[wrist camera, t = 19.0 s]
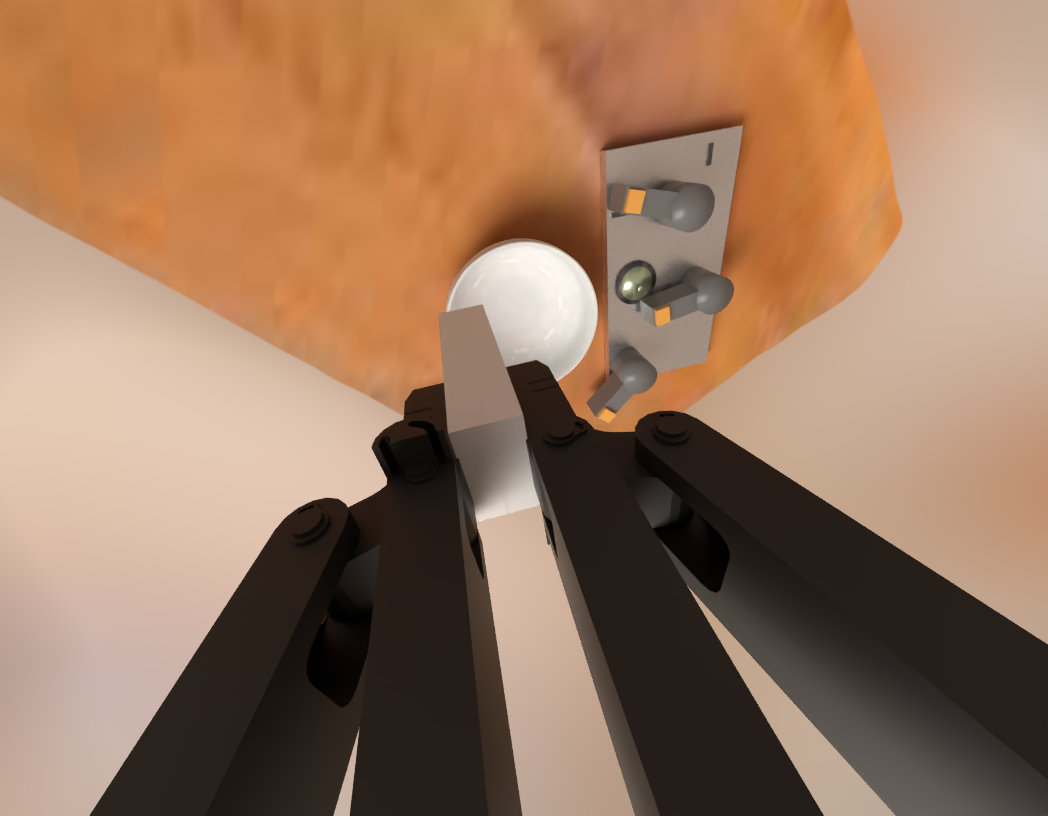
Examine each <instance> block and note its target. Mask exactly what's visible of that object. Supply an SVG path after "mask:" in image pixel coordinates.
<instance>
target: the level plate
mask: <svg viewBox="0 0 1048 816" xmlns="http://www.w3.org/2000/svg"><path fill="white" fill-rule="evenodd" d="M742 131H743V125H741V126H731V127H726V128H720V129H715V130H710V131H704V132H699V133H693V134H688V135H683V136H677V137H672V138H666V139H661V140H656V141H650V142H645V143H640V144H634V145H629V146H623V147H618V148H613V149H607V150H602V151H600V179H601V224H602V269H603V314H604V359H605V380H607V378H608V377H609V376H610V375H611V374H612V373H613V371H612V362H613V360H614V358H615V357H616V356H617V355H618V354H619V353H620V352H622V351H624V350H627V349H634V350H637V351H638V352H639V353H640V354H641V355H642V356H643V357H644V358H646V359H647V360H648V361H649V362H650V363H651V364H652V365H653V366H654V367H655V368H656V370H657V373H661V372H665V371H669V370H673V369H677V368H682V367H686V366H690V365H694V364H698V363H702V362H706V361H707V355H708V348H709V342H710V336H711V329H712V323H713V316H714V314H713V315H707V314H704V313H703V312H701V311H699V310H698V311H695V312H693V313H690V314H688V315H685V316H682V317H680V318H677V319H674V320H672V321H670V322H669V323H666V324H663V325H661V326H656V327H654V326H652V325H651V324H650V323H649V322H647V321H646V320H645V319H643V318H642V317H641V309H640V299H642V298H645V297H648V296H650V295H653V294H655V293H658V292H661V291H663V290H666V289H669V288H671V287H674V286H676V285H679V284H680V282H681V280H682V279H683V277H684V276H685V275H686V274H687V273H688V272H689V271H691V270H693V269H696V268H704V269H707V270H709V271H711V272H714V273H716V274H718V275H720V272H721V265H722V259H723V253H724V246H725V240H726V233H727V227H728V221H729V214H730V208H731V201H732V195H733V189H734V182H735V176H736V169H737V163H738V157H739V150H740V144H741V137H742ZM672 181H684V182H692V183H700V184H705V185H707V186H709V187H710V188H711V189H712V191H713V193H714V196H715V206H714V210H713V213H712V215H711V217H710V219H709V220H708V222H707V223H706V224H705V225H704V226H703V227H702V228H700V229H699V230H697V231H695V232H690V233H687V232H683V231H680V230H677V229H674V228H671V227H668V226H664V225H662V224H660V223H659V222H658V221H657V220H656V219H655V218H653V217H644V216H635V215H626V214H620V213H617V212H614V211H611V210H608V206H609V201H610V197H611V192H612V187H613V184H621V185H628V186H636V187H644V188H652V189H661V188H662V187H663V186H664V185H666V184H667V183H669V182H672Z"/></svg>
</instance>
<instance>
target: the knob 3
mask: <svg viewBox="0 0 1048 816" xmlns="http://www.w3.org/2000/svg"><path fill="white" fill-rule="evenodd" d="M733 292H734V287H733V283H732V282H731V281H730V280H729V279H728V278H725V277H723V276H721V275H718V274H716V273H714V272H711V271H709V270H707V269H704V268H696V269H693V270H691V271H689V272H688V273H687V274H686V275H685V276H684V277H683V279H682V280H681V282H680V284H679V285H676V286H674V287H671V288H669V289H666V290H663V291H661V292H658V293H655V294H653V295H650V296H648V297H645V298H642V299H640V309H641V317H642V318H643V319H645V320H646V321H647V322H649V323H650V324H651V325H652V326H654V327H656V326H661V325H663V324H666V323H669V322H670V321H672V320H674V319H677V318H680V317H682V316H685V315H688V314H690V313H693V312H695V311H698V310H699V311H701V312H703V313H704V314H707V315H713V314H716V313H718V312H720V311H722V310H723V309H724V308H725V307H726V306H727V305H728V304H729V302H730V301H731V299H732V296H733Z"/></svg>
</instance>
